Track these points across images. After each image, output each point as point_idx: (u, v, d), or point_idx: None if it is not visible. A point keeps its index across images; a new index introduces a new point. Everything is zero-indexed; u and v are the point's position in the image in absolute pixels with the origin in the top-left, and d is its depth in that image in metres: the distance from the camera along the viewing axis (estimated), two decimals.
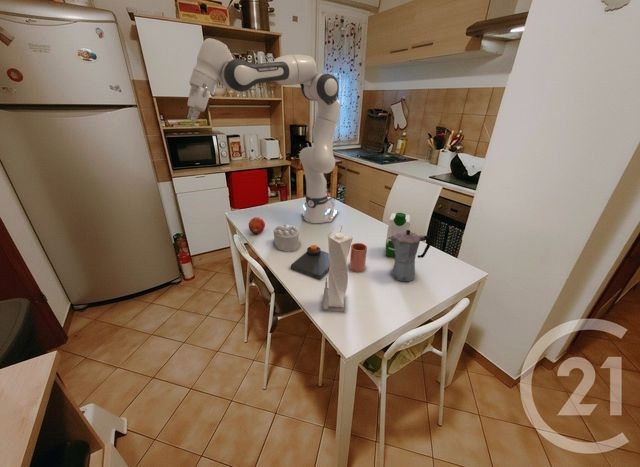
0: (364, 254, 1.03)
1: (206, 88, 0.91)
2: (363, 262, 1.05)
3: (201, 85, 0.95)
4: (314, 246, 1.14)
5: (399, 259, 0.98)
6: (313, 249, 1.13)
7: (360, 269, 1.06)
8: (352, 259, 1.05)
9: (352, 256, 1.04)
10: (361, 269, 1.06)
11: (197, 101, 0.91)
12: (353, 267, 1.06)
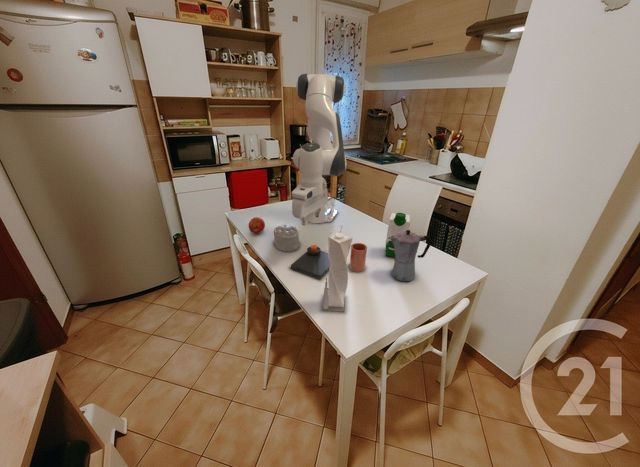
0: (364, 254, 1.03)
1: None
2: (363, 262, 1.05)
3: None
4: (314, 246, 1.14)
5: (399, 259, 0.98)
6: (313, 249, 1.13)
7: (360, 269, 1.06)
8: (352, 259, 1.05)
9: (352, 256, 1.04)
10: (361, 269, 1.06)
11: None
12: (353, 267, 1.06)
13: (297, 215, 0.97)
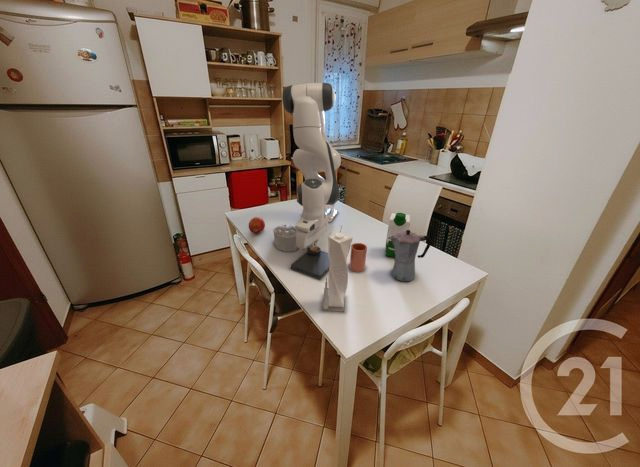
0: (364, 254, 1.03)
1: None
2: (363, 262, 1.05)
3: None
4: None
5: (399, 259, 0.98)
6: (313, 251, 1.13)
7: (360, 269, 1.06)
8: (352, 259, 1.05)
9: (352, 256, 1.04)
10: (361, 269, 1.06)
11: None
12: (353, 267, 1.06)
13: (300, 246, 1.03)
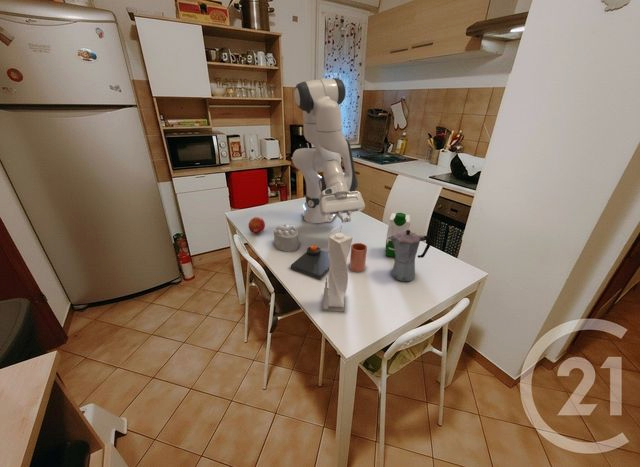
0: (364, 254, 1.03)
1: None
2: (363, 262, 1.05)
3: None
4: (314, 246, 1.14)
5: (399, 259, 0.98)
6: (313, 249, 1.13)
7: (360, 269, 1.06)
8: (352, 259, 1.05)
9: (352, 256, 1.04)
10: (361, 269, 1.06)
11: None
12: (353, 267, 1.06)
13: (321, 211, 1.10)
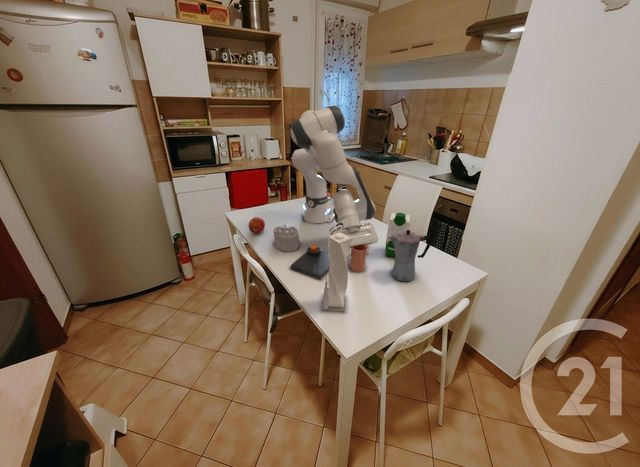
0: (364, 254, 1.03)
1: None
2: (363, 262, 1.05)
3: None
4: (314, 246, 1.14)
5: (399, 259, 0.98)
6: (313, 249, 1.13)
7: (360, 269, 1.06)
8: (352, 259, 1.05)
9: (352, 256, 1.04)
10: (361, 269, 1.06)
11: None
12: (353, 267, 1.06)
13: None
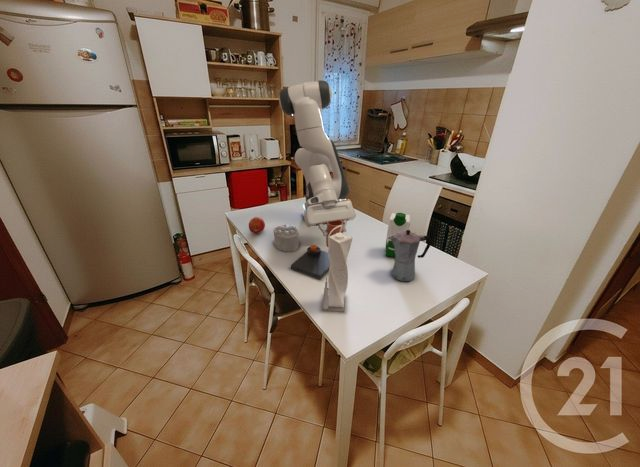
0: None
1: None
2: None
3: None
4: (314, 246, 1.14)
5: (399, 259, 0.98)
6: (313, 249, 1.13)
7: None
8: None
9: (328, 232, 0.99)
10: None
11: None
12: None
13: (306, 222, 0.98)
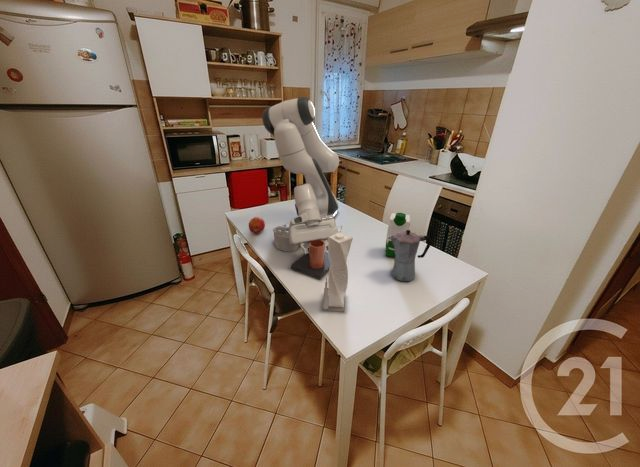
0: (322, 250, 1.02)
1: None
2: (321, 259, 1.03)
3: None
4: None
5: (399, 259, 0.98)
6: None
7: (319, 266, 1.04)
8: (310, 256, 1.03)
9: (310, 253, 1.03)
10: (320, 266, 1.04)
11: None
12: (311, 264, 1.04)
13: (290, 241, 1.02)
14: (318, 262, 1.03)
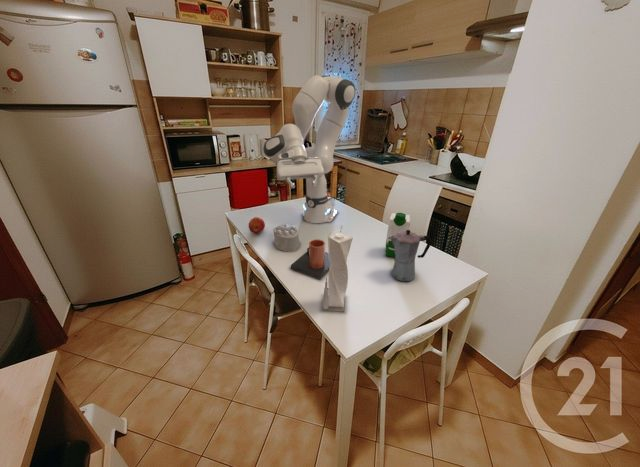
0: (322, 250, 1.02)
1: None
2: (321, 259, 1.03)
3: None
4: None
5: (399, 259, 0.98)
6: None
7: (319, 266, 1.04)
8: (310, 256, 1.03)
9: (310, 253, 1.03)
10: (320, 266, 1.04)
11: None
12: (311, 264, 1.04)
13: (277, 175, 1.08)
14: (318, 262, 1.03)
